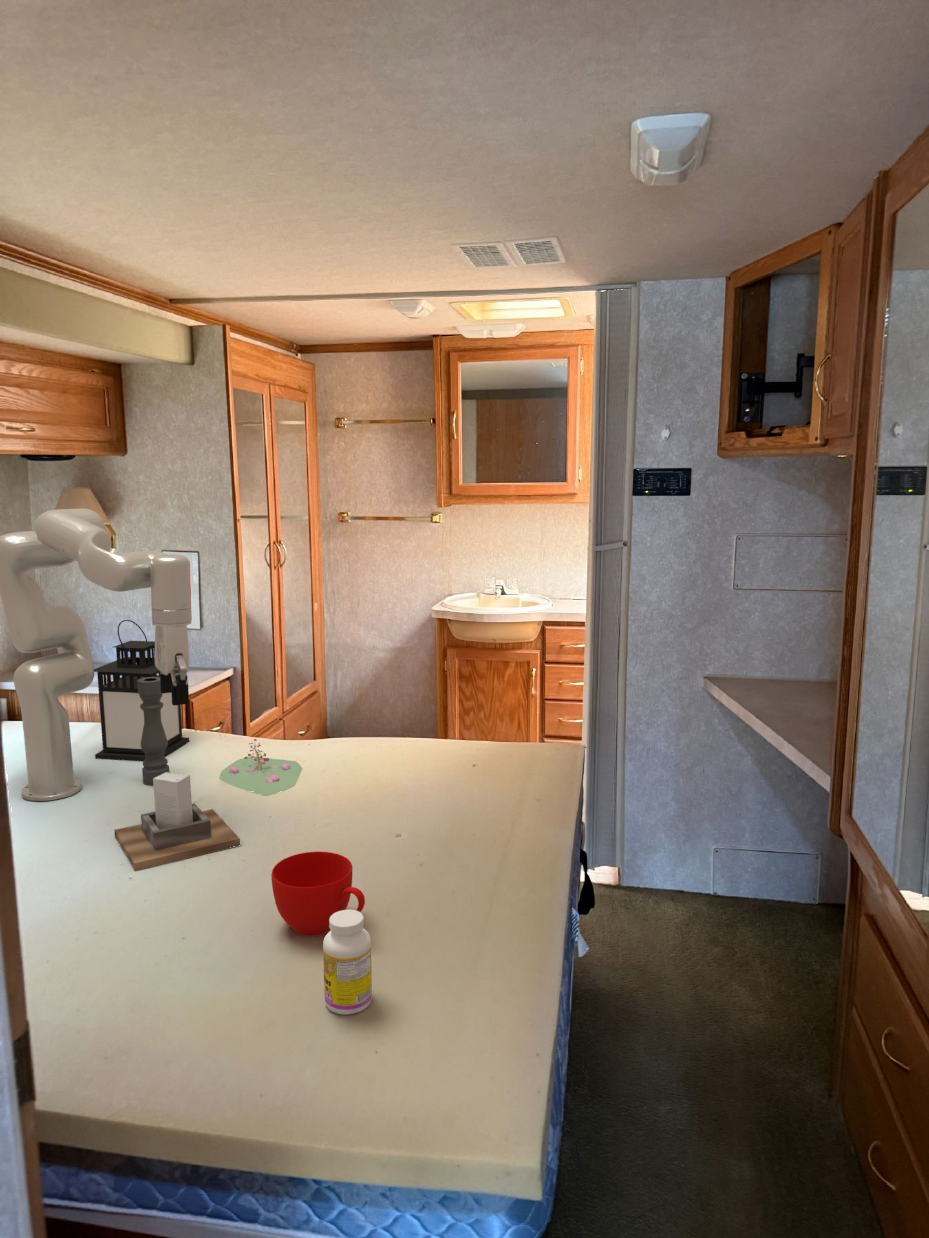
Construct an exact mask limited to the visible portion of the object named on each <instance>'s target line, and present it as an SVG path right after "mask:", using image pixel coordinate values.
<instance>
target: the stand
mask: <svg viewBox="0 0 929 1238" xmlns="http://www.w3.org/2000/svg"><path fill="white" fill-rule="evenodd" d="M192 814H193V822H192V823H187V824H183V825H178V826H173V827H169V828H164V829H160V830H159V829H158V828H157V826H156V815H155V811H151V812H146V813H142V814H140V820H141V823H140V824H134V825H130V826H125V827H121V828H115V829H114V838H115V839H116V841H117V843H118V845H119V844H120V845H119V847H120V848H121V849H122V851H123V853H124V855H125V857H126V858H127V860H128V862H129V864H130V865H131V866H132V868H133V870H134V871H141V870H145V869H149V868H154V867H158V866H162V865H165V864H169V863H173V862H178V861H183V860H185V859H190V858H195V857H199V856H203V855H207V854H212V853H215V852H220V851H224V850H228V849H227V848H229V849H231V848H230V847H233V846H237V847H240V846H241V838H240V837H239V836H238V835H237V833H235V832H234V831H233V830H232V828H231V827H230V826H229V825H228V824H227V823H226V822H225V820H223V818H221V816H219V814H218V813H216V811H215V810H214V809H213V808H211V809H207V810H202V809H200V807H199V806H198V805H197V804H196V803H195V802H194V803H192ZM239 845H240V846H239ZM233 848H234V847H233ZM223 849H224V850H223Z"/></svg>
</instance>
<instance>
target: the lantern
mask: <svg viewBox="0 0 929 1238" xmlns="http://www.w3.org/2000/svg"><path fill="white" fill-rule="evenodd" d="M123 622H130V623H132V624H134V625H135V626H137V627H138V629H139V630H140V631H141V633H142V634H143V636H144V639H145V640H128V641H125V642H123V641H122V639H121V636H120V626H121V624H122V623H123ZM117 636H118V637H117V638H118V640H119V642H120V644H117V645H114V646H113V648H115V651H116V653H115V654H116V660H114V661H111V662H109V663H107V664H104V665H101V666H98V667H96V668H94V673H97V684H98V685H97V687H98V700H99V701H98V702H99V712H100V713H99V714H100V725H101V728H100V730H101V741H102V750H100V751H98V752H96V753H95V754H94V759H95V760H112V761H127V762H128V761H130V762H142V763H143V761H145V758H146V756H145V753H144V752H143V751H142V749H141V738H142V733H143V727H144V711H143V710H142V709H141V708H140V705H141V704H142V703H143V701H142V700H141V698H140V695H139V694H138V682H137V680H139V679H141V678H146V677H160V675H161V673H160V670H159V669H158V668H157V667H156V666H155V640H154V641H151V640H149V641H148V639H147V635H146V634H145V631H143V629H142V628H141V626H140V625H139V624H137V623H136V622H135V621H133V620H130V619H123V620H122V621H120V622H119V624H118V625H117ZM137 653H138V657H137ZM175 671H176V670H175ZM176 676H177V675H176ZM162 694H163V695H162V697H161V700H160V702H162V703H163V707H162V708H161V722H162V725H163V728H164V732H165V735H166V738H167V741H168V745H167V748H166V750H165V751H164V752H165V754H164V755H163V756H165V758H166V757H169V755H171V754H173V753H174V752H177V750H179V749H181V748H182V747H183V746H185V745H187V744H188V743H190V737H185V736H184V737H183V730H182V729H183V727H182V726H183V725H182V712H181V711H182V710H181V707H182V706H181V705H175V706H174V705H173V704H172V693H162Z"/></svg>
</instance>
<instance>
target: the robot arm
mask: <svg viewBox="0 0 929 1238" xmlns="http://www.w3.org/2000/svg"><path fill="white" fill-rule="evenodd" d="M111 548H112V539H111V535H110V533H108V531H107V530H106V526H105V523H104V521H103V519H102V517H101V515H100V514H99V513H97V512H96V511H94V510H92V509H90V508H85V507H84V508H82V507H81V508H61V509H60V508H59V509H58V508H57V509H50V510H47V511H45V512H43V513H41V514H39V516H37V518H36V519H35V520H34V524H33V530H27V531H26V530H25V531H16V532H9V533H5V534H2V535H0V599H1V603H2V607H3V612H4V616H5V619H6V623H7V628H8V632H9V635H10V636H9V637H10V638H11V639H10V640H11V642H12V644H13V647H14V648H15V649H16V651H18V652H20V653H22V654H23V653H25V654H31V653H38V652H39V653H40V652H44V651H49V650H53V649H56V650H57V653H56V654H50V655H46V656H42V657H37V658H36V657H35V658H33V659H29V660H27V661H25V662H23V663H21V664H20V665H19V666H18V667H17V668H16V670H15V671H14V674H13V685H14V689H15V692H16V695H17V698H18V703H19V707H20V712H21V721H22V730H23V737H24V738H23V739H24V751H25V760H26V761H25V763H26V773H27V775H26V776H27V782H28V783H27V785H25V786H24V787H23V788H22V789H21V791H20V792H21V793H20V794H21V797H22V798H23V799H24V800H27V801H32V802H46V801H55V800H60V799H64V798H67V797H70V796H73V795H74V794H76V793H78V792H79V791H81V790H82V788H83V785H82V781H81V780H80V779H77V778H76V777H75V775H74V765H73V752H72V742H71V738H72V737H71V730H70V729H71V728H70V727H71V726H70V718H69V713H68V711H67V709H66V707H65V706H64V705H63V704H62V703H61V702H60V701H59V699H58V698H59V697H62V696H64V695H68V694H73V693H76V692H80V691H81V690H82V691H83V690H86V689H87V688H88V687H90V686H91V685H92V683H93V682H94V678H95V672H94V669H95V666H94V662H93V661H94V660H93V658H92V653H91V648H90V645H89V640H88V636H87V631H86V627H85V625H84V624H85V623H84V622H83V619H82V617H81V615H80V614H79V613H78V612H77V611H76V610H75V609H74V608H72V607H70V606H67V605H58V606H52V607H51V606H50V607H48V606H47V603H46V601H45V600H46V599H45V596H44V591H43V589H42V586H40V584H39V583H38V581H37V580H36V579H35V578H34V577H33V576H32V575H31V574H29V573H28V572H27V571H29V570H30V571H31V570H39V569H40V570H41V569H42V570H43V569H49V568H50V569H51V568H59V567H64V566H67V565H70V564H72V563H73V562H75V561H76V562H77V564H78V567H79V570H80V571H81V572H82V575H83V577H85V578H86V580H87V581H88V580H89V582H91V583H93V584H95V585H97V586H98V587H102V588H104V589H106V590H108V591H112V592H128V591H134V590H141V589H150V595H151V596H150V599H151V600H150V601H151V624H152V626H155V628H154V629H155V630H154V641H155V656H154V658H155V666H156V667H157V668H158V669H159V670H160V673H161V675H160V685H161V693H172V704H173V705H174V706H175V705H180V706H182V705H188V704H189V703H190V697H189V696H190V693H189V692H190V691H189V680H188V679H189V678H188V675H187V674H188V673H189V671H190V646H189V633H188V626H189V625H191V624H192V602H191V601H192V599H191V598H192V597H191V594H192V593H191V565H190V560H189V558H188V557H187V556H186V555H181V554H168V553H164V552H163V551H159V550H144V551H143V550H142V551H141V550H140V551H131V552H121V553H113V552H111V550H112V549H111ZM175 670H176V671H175ZM176 675H177V676H176ZM74 777H75V778H74Z"/></svg>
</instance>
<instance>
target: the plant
mask: <svg viewBox="0 0 929 1238" xmlns="http://www.w3.org/2000/svg"><path fill="white" fill-rule="evenodd" d="M253 741H254V742H257V741H258V739H255V738H254V739H253ZM253 744H254V743H253V742H251V743H248V745H250V746H249V747H250V750H249V752H252V754H251V753H247V756H245V757H243V758H239V759H237V760H235V761H234V762H232V763H231V764H229V765H228V766H226V767H225V768H224V769H223V770H221V772H220V774H219V780H220V781H221V782H224V783H226V784H228V785H231V786H233V787H235V788H238V789H240V790H243V791H246V792H249V791H254V792H251V793H253V794H255V795H258V794H261V795H260V796H262V797H266V796H267V797H268V796H273V795H277V794H279V793H278V792H280V791H282V792H284V791H287V790H289V789H291V788H294V787H296V785H297V782H298V781H299V778H300V775H301V774H302V772H303V768H302V765H300V764H299V763H298V762H297V760H288V759H278V758H269V757H267V753H265V752H263V750H260V749H257V748H260V747H261V746H262V745H261V743H260V742H258V745H256V744H254V745H253ZM256 747H257V748H256ZM262 754H263V755H262ZM254 755H255V756H254ZM280 793H281V792H280ZM272 794H273V795H272Z"/></svg>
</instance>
